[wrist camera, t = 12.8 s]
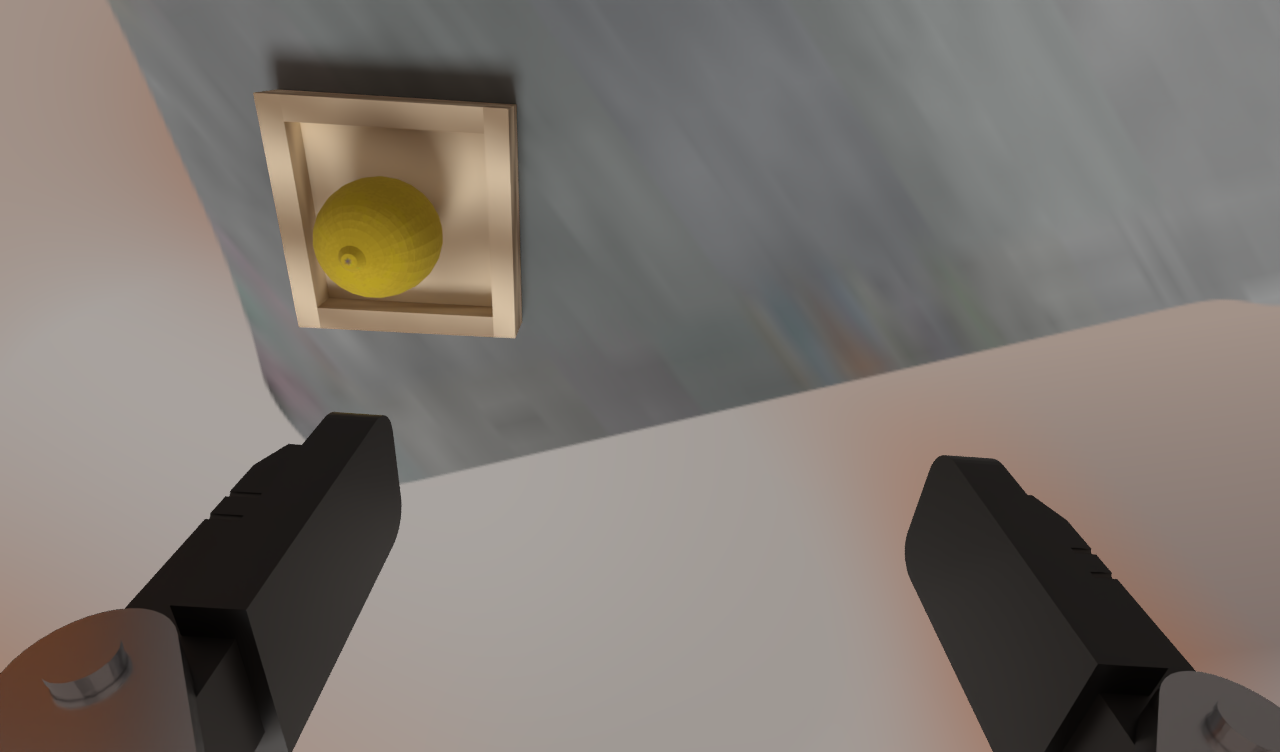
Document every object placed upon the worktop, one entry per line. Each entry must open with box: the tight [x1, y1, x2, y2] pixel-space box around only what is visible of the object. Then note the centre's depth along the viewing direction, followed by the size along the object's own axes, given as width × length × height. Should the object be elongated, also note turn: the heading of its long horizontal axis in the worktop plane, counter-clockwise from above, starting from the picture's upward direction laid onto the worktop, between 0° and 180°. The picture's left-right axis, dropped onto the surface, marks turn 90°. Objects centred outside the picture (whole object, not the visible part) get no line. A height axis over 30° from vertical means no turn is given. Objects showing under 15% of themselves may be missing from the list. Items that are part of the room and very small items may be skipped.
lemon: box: [313, 176, 443, 298], centre depth 31 cm, size 6×6×8 cm
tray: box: [253, 90, 522, 338], centre depth 35 cm, size 12×12×2 cm
